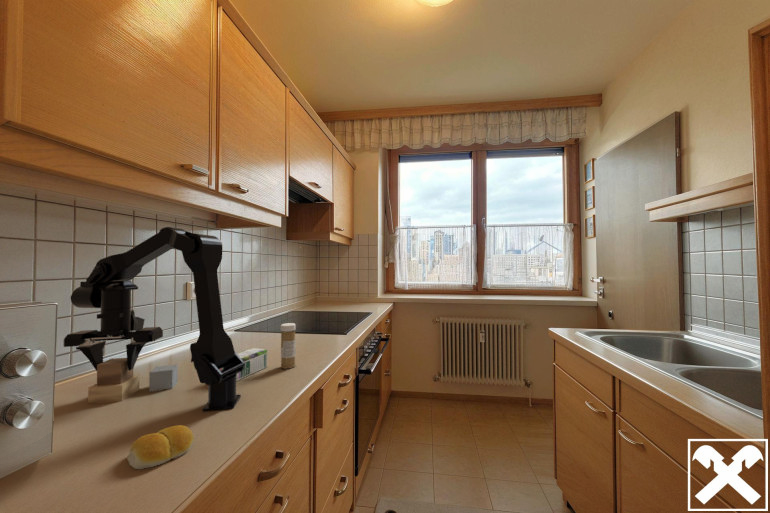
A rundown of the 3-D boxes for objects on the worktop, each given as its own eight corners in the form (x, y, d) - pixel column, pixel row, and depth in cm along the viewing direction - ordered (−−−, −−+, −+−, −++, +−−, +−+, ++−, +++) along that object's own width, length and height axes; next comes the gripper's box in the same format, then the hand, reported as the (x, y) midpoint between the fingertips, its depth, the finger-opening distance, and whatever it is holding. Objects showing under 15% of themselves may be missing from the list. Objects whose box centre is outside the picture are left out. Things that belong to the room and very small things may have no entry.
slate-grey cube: (172, 389, 81) (172, 369, 81) (149, 392, 79) (149, 372, 79) (177, 382, 85) (177, 364, 86) (155, 385, 84) (156, 366, 84)
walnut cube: (120, 384, 75) (120, 363, 75) (96, 385, 74) (97, 364, 74) (133, 376, 80) (133, 357, 80) (111, 378, 79) (111, 358, 79)
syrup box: (267, 367, 97) (231, 384, 83) (252, 365, 99) (214, 382, 85) (267, 349, 97) (231, 363, 83) (252, 347, 99) (214, 361, 85)
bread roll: (201, 448, 54) (201, 425, 54) (138, 477, 47) (138, 451, 47) (181, 434, 59) (181, 413, 59) (121, 458, 52) (121, 434, 52)
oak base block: (121, 402, 74) (122, 385, 74) (88, 405, 72) (88, 387, 73) (139, 390, 81) (139, 375, 81) (108, 393, 79) (108, 377, 79)
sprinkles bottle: (282, 364, 99) (282, 322, 100) (297, 364, 100) (296, 322, 100) (279, 369, 95) (278, 325, 95) (294, 368, 95) (294, 325, 95)
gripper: (173, 303, 87) (172, 358, 86) (96, 305, 83) (95, 363, 83) (151, 308, 76) (150, 372, 76) (61, 311, 72) (60, 378, 72)
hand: (115, 371), depth 77 cm, fingers open, 6 cm apart
